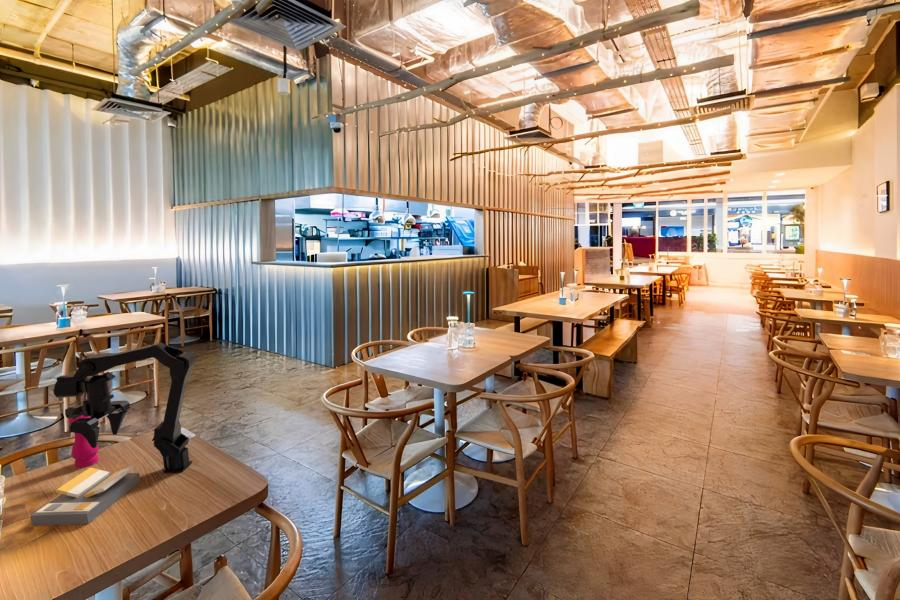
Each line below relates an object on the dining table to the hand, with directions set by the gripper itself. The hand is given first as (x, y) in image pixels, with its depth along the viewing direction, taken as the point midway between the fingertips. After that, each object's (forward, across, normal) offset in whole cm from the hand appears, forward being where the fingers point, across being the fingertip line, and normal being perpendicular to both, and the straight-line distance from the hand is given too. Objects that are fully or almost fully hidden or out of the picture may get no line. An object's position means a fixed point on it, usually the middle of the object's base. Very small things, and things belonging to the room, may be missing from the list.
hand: (104, 440), depth 140 cm
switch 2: (+8, +11, +9) cm, 16 cm away
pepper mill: (+12, -10, -14) cm, 21 cm away
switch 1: (+8, +11, +1) cm, 14 cm away
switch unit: (+12, +14, +4) cm, 19 cm away
